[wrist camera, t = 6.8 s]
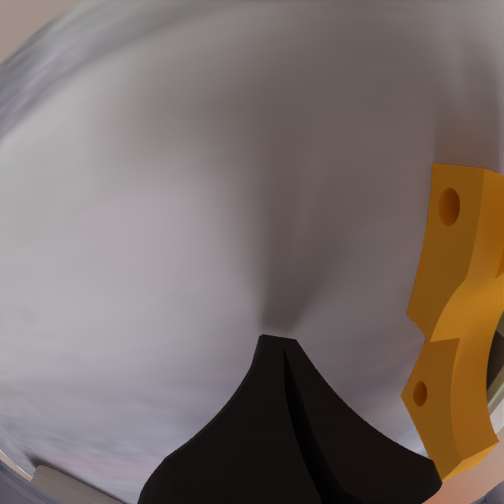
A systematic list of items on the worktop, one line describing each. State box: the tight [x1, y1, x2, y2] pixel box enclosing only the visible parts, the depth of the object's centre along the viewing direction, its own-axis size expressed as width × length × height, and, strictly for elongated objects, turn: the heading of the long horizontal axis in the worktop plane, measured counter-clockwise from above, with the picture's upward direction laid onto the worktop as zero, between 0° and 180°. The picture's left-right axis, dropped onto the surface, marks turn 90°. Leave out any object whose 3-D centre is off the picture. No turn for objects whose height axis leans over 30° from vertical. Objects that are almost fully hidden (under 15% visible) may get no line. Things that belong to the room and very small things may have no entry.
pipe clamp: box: [401, 164, 504, 481], centre depth 8 cm, size 12×4×6 cm, turn 178°
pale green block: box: [486, 311, 504, 434], centre depth 9 cm, size 5×8×4 cm, turn 169°
